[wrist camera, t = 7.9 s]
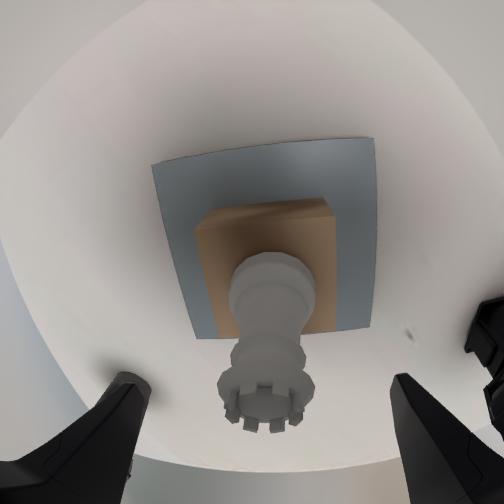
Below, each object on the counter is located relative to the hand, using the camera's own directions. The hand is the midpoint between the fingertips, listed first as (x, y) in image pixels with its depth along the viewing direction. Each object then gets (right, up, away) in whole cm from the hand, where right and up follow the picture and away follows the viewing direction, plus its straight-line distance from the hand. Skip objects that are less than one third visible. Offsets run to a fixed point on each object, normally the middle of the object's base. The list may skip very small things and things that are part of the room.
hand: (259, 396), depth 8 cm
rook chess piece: (+1, +3, +7) cm, 8 cm away
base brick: (+1, +4, +10) cm, 11 cm away
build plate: (+1, +5, +12) cm, 13 cm away
